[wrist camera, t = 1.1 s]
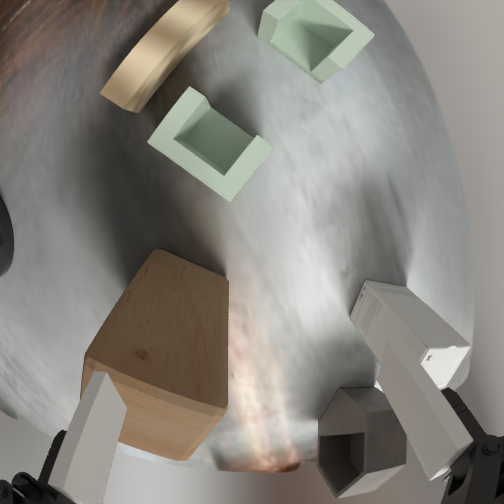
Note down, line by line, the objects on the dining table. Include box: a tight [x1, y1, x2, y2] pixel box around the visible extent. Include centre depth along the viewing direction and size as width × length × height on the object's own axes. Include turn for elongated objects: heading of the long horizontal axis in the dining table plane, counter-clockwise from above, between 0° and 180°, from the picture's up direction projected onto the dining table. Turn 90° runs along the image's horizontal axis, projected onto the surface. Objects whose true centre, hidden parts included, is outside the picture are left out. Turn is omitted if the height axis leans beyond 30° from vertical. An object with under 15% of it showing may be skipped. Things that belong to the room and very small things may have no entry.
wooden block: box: [80, 249, 229, 461], centre depth 25 cm, size 10×10×20 cm
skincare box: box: [350, 280, 471, 388], centre depth 30 cm, size 8×7×16 cm
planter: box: [317, 387, 407, 498], centre depth 37 cm, size 17×8×21 cm
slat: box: [100, 0, 230, 114], centre depth 22 cm, size 16×4×5 cm, turn 141°
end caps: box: [147, 0, 375, 202], centre depth 24 cm, size 22×9×7 cm, turn 141°
